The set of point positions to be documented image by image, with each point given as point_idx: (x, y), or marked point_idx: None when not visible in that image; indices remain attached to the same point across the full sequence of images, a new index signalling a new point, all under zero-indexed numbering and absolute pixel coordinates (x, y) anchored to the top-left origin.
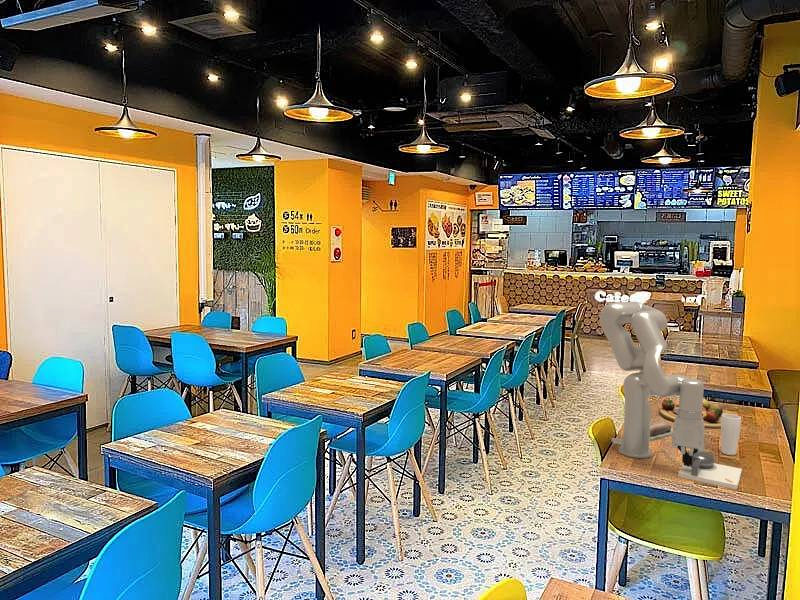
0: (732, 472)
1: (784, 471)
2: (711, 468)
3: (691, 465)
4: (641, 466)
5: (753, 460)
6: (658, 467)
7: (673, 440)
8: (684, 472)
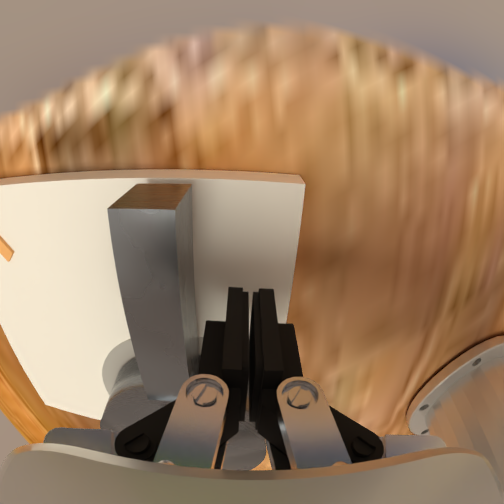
0: (40, 362)
1: (11, 420)
2: None
3: None
4: (495, 249)
5: None
6: (418, 288)
7: (492, 488)
8: (257, 221)
